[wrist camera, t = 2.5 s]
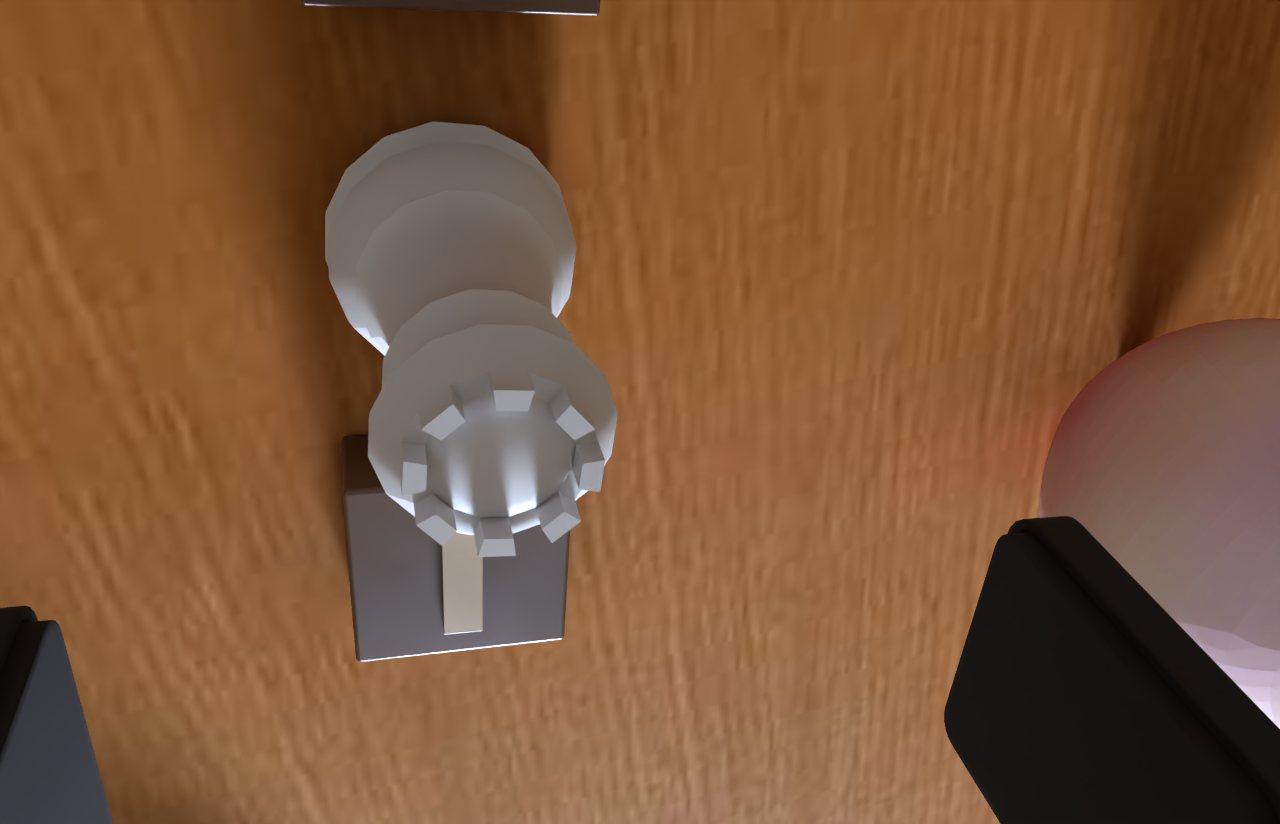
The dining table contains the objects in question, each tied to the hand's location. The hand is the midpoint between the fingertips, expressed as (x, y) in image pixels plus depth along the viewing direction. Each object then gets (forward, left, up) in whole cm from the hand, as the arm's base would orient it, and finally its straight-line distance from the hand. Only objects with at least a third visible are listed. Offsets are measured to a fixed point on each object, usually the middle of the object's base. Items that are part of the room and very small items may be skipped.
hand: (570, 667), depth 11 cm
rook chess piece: (0, 0, -11) cm, 11 cm away
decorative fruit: (+5, +16, -11) cm, 20 cm away
